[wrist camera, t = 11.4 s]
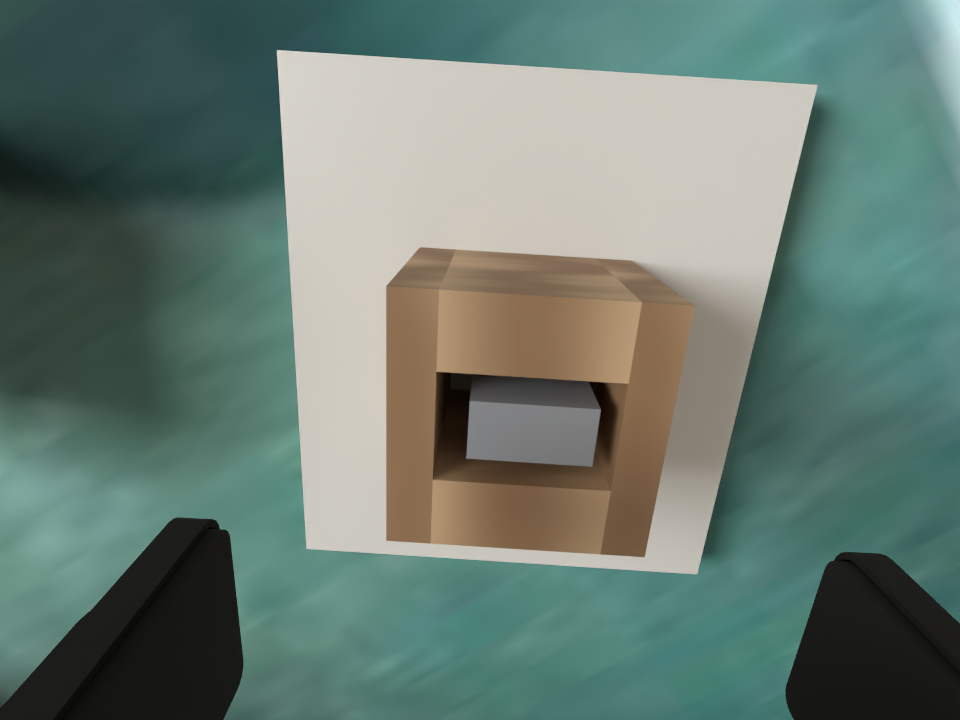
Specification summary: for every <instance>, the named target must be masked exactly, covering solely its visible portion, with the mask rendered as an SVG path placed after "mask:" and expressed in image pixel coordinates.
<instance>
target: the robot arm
mask: <svg viewBox="0 0 960 720" xmlns="http://www.w3.org/2000/svg"><path fill="white" fill-rule="evenodd" d="M242 672H243V654H242V644H241V635H240V626H239V616H238V607H237V598H236V589H235V579H234V570H233V561H232V552H231V542H230V536H229V533H228V531H226V530H220V528H219V525H218V523H217V521H215V520H213V519H196V518H175V519H173V520H171V521H170V522H169V523H168V524H167V525H166V526H165V527H164V529H163V530H162V531H161V532H160V533H159V534H158V535H157V536H156V538H155V539H154V540H153V541H152V542H151V543H150V544H149V545H148V547H147V548H146V549H145V550H144V551H143V552H142V553H141V555H140V556H139V557H138V558H137V559H136V560H135V561H134V562H133V564H132V565H131V566H130V567H129V568H128V569H127V570H126V572H125V573H124V574H123V575H122V576H121V577H120V578H119V579H118V581H117V582H116V583H115V584H114V585H113V586H112V587H111V588H110V590H109V591H108V592H107V593H106V594H105V595H104V596H103V598H102V599H101V600H100V601H99V602H98V603H97V604H96V605H95V607H94V608H93V609H92V610H91V611H90V612H88V613H87V614H86V615H85V616H84V617H83V618H81V619H80V620H79V621H78V622H77V623H76V624H75V626H74V627H73V628H72V629H71V630H70V631H69V632H68V633H67V635H66V636H65V637H64V638H63V639H62V640H61V641H60V642H59V644H58V645H57V646H56V647H55V648H54V649H53V650H52V651H51V653H50V654H49V655H48V656H47V657H46V658H45V659H44V660H43V662H42V663H41V664H40V665H39V666H38V667H37V668H36V669H35V670H34V672H33V673H32V674H31V675H30V676H29V677H28V678H27V679H26V681H25V682H24V683H23V684H22V685H21V686H20V687H19V688H18V690H17V691H16V692H15V693H14V694H13V695H12V696H11V697H10V699H9V700H8V701H7V702H6V703H5V704H4V705H3V706H2V707H1V709H0V720H223V719H224V717H225V715H226V713H227V711H228V708H229V706H230V704H231V702H232V700H233V698H234V696H235V693H236V691H237V689H238V687H239V684H240V680H241V677H242ZM786 701H787V705H788V708H789V711H790V713H791V715H792V717H793V719H794V720H960V624H959V623H958V622H957V621H956V620H955V619H954V618H953V617H952V616H951V615H950V614H949V613H948V612H947V611H946V610H945V609H944V608H942V607H941V606H940V605H939V604H938V603H937V602H936V601H935V600H934V599H933V598H932V597H931V596H930V595H929V594H928V593H927V592H926V591H925V590H923V589H922V588H921V587H920V586H919V585H918V584H917V583H916V582H915V581H914V580H913V579H912V578H911V577H910V576H909V575H908V574H907V573H905V572H904V571H903V570H902V569H901V568H900V567H899V566H898V565H897V564H896V563H895V562H894V561H893V560H891V559H890V558H889V557H887V556H886V555H882V554H876V553H856V552H843V553H840V554H839V555H838V556H836V558H835V560H834V561H831V562H829V563H828V564H827V566H826V568H825V570H824V573H823V576H822V579H821V582H820V585H819V588H818V591H817V594H816V597H815V600H814V603H813V606H812V609H811V612H810V615H809V618H808V622H807V625H806V628H805V631H804V634H803V637H802V640H801V643H800V646H799V649H798V652H797V655H796V658H795V661H794V664H793V667H792V670H791V673H790V676H789V679H788V682H787V685H786Z"/></svg>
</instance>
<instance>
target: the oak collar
mask: <svg viewBox="0 0 960 720" xmlns="http://www.w3.org/2000/svg"><path fill="white" fill-rule="evenodd" d="M694 308H695V305H693V304H692V303H691V302H689V301H688V300H686V299H685V298H684V297H682V296H681V295H679V294H678V293H677V292H675V291H674V290H672V289H671V288H669V287H668V286H667V285H665V284H664V283H662V282H661V281H660V280H658V279H657V278H655V277H654V276H653V275H651V274H650V273H648V272H647V271H646V270H644V269H643V268H641V267H640V266H639V265H637V264H636V263H634V262H633V261H631V260H615V259H599V258H583V257H567V256H551V255H536V254H520V253H504V252H488V251H472V250H456V249H440V248H425V247H420V248H419V249H418V250H417V251H416V252H415V253H414V255H413V256H412V257H411V258H410V259H409V260H408V262H407V263H406V264H405V265H404V266H403V267H402V269H401V270H400V271H399V272H398V273H397V274H396V275H395V277H394V278H393V279H392V280H391V281H390V282H389V284H388V285H387V286H386V541H397V542H413V543H428V544H444V545H460V546H475V547H491V548H506V549H522V550H538V551H553V552H569V553H585V554H600V555H616V556H632V557H645V553H646V548H647V543H648V538H649V533H650V528H651V523H652V518H653V513H654V508H655V503H656V498H657V493H658V488H659V483H660V478H661V473H662V468H663V463H664V458H665V453H666V448H667V443H668V438H669V433H670V428H671V423H672V418H673V413H674V408H675V403H676V398H677V393H678V388H679V383H680V378H681V373H682V368H683V363H684V358H685V353H686V348H687V343H688V338H689V333H690V328H691V323H692V318H693V313H694ZM451 373H465V374H481V375H496V376H512V377H528V378H544V379H559V380H575V381H589V383H590V386H591V388H592V390H593V393H594V395H595V397H596V399H597V402H598V404H599V406H600V409H601V412H600V419H599V426H598V432H597V439H596V445H595V452H594V459H593V465H592V467H588V466H573V465H557V464H542V463H527V462H511V461H496V460H481V459H466V455H467V438H468V421H469V405H470V393H471V390H461V389H450V380H451Z"/></svg>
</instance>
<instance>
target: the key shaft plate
mask: <svg viewBox="0 0 960 720" xmlns="http://www.w3.org/2000/svg"><path fill="white" fill-rule="evenodd" d="M277 59H278V76H279V93H280V110H281V127H282V143H283V160H284V177H285V194H286V211H287V228H288V245H289V261H290V278H291V295H292V312H293V329H294V346H295V363H296V379H297V396H298V413H299V430H300V447H301V464H302V481H303V498H304V514H305V531H306V548H307V549H318V550H334V551H349V552H364V553H379V554H395V555H410V556H425V557H440V558H456V559H471V560H486V561H502V562H517V563H532V564H547V565H563V566H578V567H593V568H608V569H624V570H639V571H654V572H670V573H685V574H697V573H698V569H699V565H700V560H701V556H702V552H703V548H704V544H705V540H706V536H707V532H708V528H709V524H710V520H711V516H712V512H713V508H714V504H715V500H716V495H717V491H718V487H719V483H720V479H721V475H722V471H723V467H724V463H725V459H726V455H727V451H728V447H729V443H730V439H731V435H732V431H733V426H734V422H735V418H736V414H737V410H738V406H739V402H740V398H741V394H742V390H743V386H744V382H745V378H746V374H747V370H748V366H749V361H750V357H751V353H752V349H753V345H754V341H755V337H756V333H757V329H758V325H759V321H760V317H761V313H762V309H763V305H764V301H765V296H766V292H767V288H768V284H769V280H770V276H771V272H772V268H773V264H774V260H775V256H776V252H777V248H778V244H779V240H780V236H781V232H782V227H783V223H784V219H785V215H786V211H787V207H788V203H789V199H790V195H791V191H792V187H793V183H794V179H795V175H796V171H797V167H798V162H799V158H800V154H801V150H802V146H803V142H804V138H805V134H806V130H807V126H808V122H809V118H810V114H811V110H812V106H813V102H814V98H815V93H816V89H817V85H808V84H793V83H777V82H762V81H746V80H731V79H715V78H700V77H684V76H669V75H653V74H638V73H622V72H607V71H591V70H576V69H561V68H545V67H530V66H514V65H499V64H483V63H468V62H452V61H437V60H421V59H406V58H390V57H375V56H360V55H344V54H329V53H313V52H298V51H282V50H277ZM420 247H425V248H440V249H456V250H472V251H488V252H504V253H520V254H536V255H551V256H567V257H583V258H599V259H615V260H631V261H633V262H634V263H636V264H637V265H639V266H640V267H641V268H643V269H644V270H646V271H647V272H648V273H650V274H651V275H653V276H654V277H655V278H657V279H658V280H660V281H661V282H662V283H664V284H665V285H667V286H668V287H669V288H671V289H672V290H674V291H675V292H677V293H678V294H679V295H681V296H682V297H684V298H685V299H686V300H688V301H689V302H691V303H692V304H693V305H695V308H694V313H693V318H692V323H691V328H690V333H689V338H688V343H687V348H686V353H685V358H684V363H683V368H682V373H681V378H680V383H679V388H678V393H677V398H676V403H675V408H674V413H673V418H672V423H671V428H670V433H669V438H668V443H667V448H666V453H665V458H664V463H663V468H662V473H661V478H660V483H659V488H658V493H657V498H656V503H655V508H654V513H653V518H652V523H651V528H650V533H649V538H648V543H647V548H646V553H645V557H632V556H616V555H600V554H585V553H569V552H553V551H538V550H522V549H506V548H491V547H475V546H460V545H444V544H428V543H413V542H397V541H386V286H387V285H388V284H389V282H390V281H391V280H392V279H393V278H394V277H395V275H396V274H397V273H398V272H399V271H400V270H401V269H402V267H403V266H404V265H405V264H406V263H407V262H408V260H409V259H410V258H411V257H412V256H413V255H414V253H415V252H416V251H417V250H418V249H419V248H420ZM450 389H461V390H471V393H470V405H469V421H468V438H467V455H466V459H481V460H496V461H511V462H527V463H542V464H557V465H573V466H588V467H592V465H593V459H594V452H595V445H596V439H597V432H598V426H599V419H600V412H601V409H600V406H599V404H598V402H597V399H596V397H595V395H594V393H593V390H592V388H591V386H590V383H589V381H575V380H559V379H544V378H528V377H512V376H496V375H481V374H465V373H451V380H450Z"/></svg>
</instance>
